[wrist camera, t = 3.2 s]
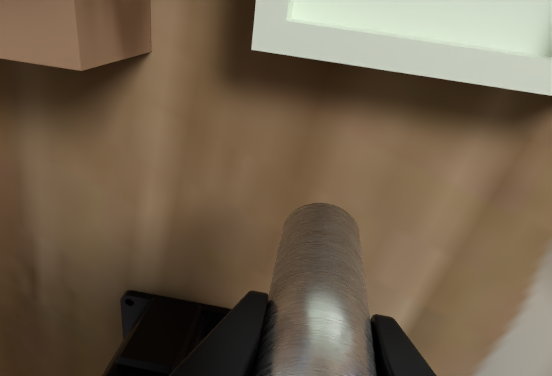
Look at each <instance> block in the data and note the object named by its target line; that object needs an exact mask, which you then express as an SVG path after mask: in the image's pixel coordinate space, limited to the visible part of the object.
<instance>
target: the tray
mask: <svg viewBox="0 0 552 376" xmlns="http://www.w3.org/2000/svg"><path fill="white" fill-rule="evenodd" d="M251 50H256V51H263V52H269V53H276V54H282V55H289V56H295V57H302V58H308V59H315V60H321V61H328V62H334V63H341V64H348V65H354V66H361V67H367V68H374V69H380V70H387V71H393V72H400V73H406V74H413V75H419V76H426V77H432V78H439V79H446V80H452V81H459V82H465V83H472V84H478V85H485V86H491V87H498V88H504V89H511V90H517V91H524V92H530V93H537V94H544V95H550V96H552V0H256V5H255V16H254V26H253V37H252V48H251Z"/></svg>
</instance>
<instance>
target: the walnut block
mask: <svg viewBox="0 0 552 376" xmlns="http://www.w3.org/2000/svg"><path fill="white" fill-rule="evenodd" d="M149 52H152V50H151V7H150V0H0V58H1V59H8V60H14V61H20V62H27V63H33V64H40V65H46V66H53V67H59V68H66V69H72V70H79V71H83V70H87V69H90V68H94V67H98V66H101V65H105V64H108V63H112V62H116V61H119V60H123V59H127V58H130V57H134V56H138V55H141V54H145V53H149Z"/></svg>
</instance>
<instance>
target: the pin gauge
mask: <svg viewBox="0 0 552 376" xmlns="http://www.w3.org/2000/svg"><path fill="white" fill-rule="evenodd" d="M252 376H377V369H376V361H375V353H374V345H373V337H372V329H371V321H370V313H369V305H368V297H367V289H366V281H365V273H364V265H363V257H362V249H361V241H360V233H359V229H358V226H357V224H356V222H355V220H354V219H353V218H352V216H351V215H350V214H349V213H347V212H346V211H345V210H343V209H341V208H340V207H337V206H335V205H331V204H327V203H312V204H308V205H305V206H302V207H300V208H298V209H297V210H295V211H294V212H293V213H291V214H290V215H289V217H288V218H287V219H286V221H285V223H284V225H283V229H282V234H281V239H280V243H279V248H278V253H277V258H276V263H275V267H274V272H273V277H272V282H271V287H270V291H269V298H268V304H267V309H266V314H265V319H264V324H263V329H262V333H261V338H260V343H259V348H258V352H257V357H256V361H255V364H254V369H253V373H252Z"/></svg>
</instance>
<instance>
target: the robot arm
mask: <svg viewBox="0 0 552 376" xmlns="http://www.w3.org/2000/svg"><path fill="white" fill-rule="evenodd" d="M268 298H269V296H268V294H267V293H263V292H258V291H249V292H248V293H247V294H246V295H245V296H244V297H243V298H242V299H241V300H240V302H239V303H238V304H237V305H236V306H235V307H234V308H233V309H232V310H231V309H226V308H221V307H216V306H211V305H206V304H200V303H195V302H190V301H185V300H179V299H174V298H169V297H164V296H158V295H153V294H148V293H143V292H138V291H132V290H129V291H126V292H125V294H124V295H123V296H122V298H121V311H122V324H123V337H124V340H123V342H122V343H121V345H120V347H119V348H118V350H117V352H116V353H115V355H114V357H113V358H112V360H111V362H110V363H109V365H108V366H107V368H106V370H105V371H104V373H103V375H102V376H252V373H253V369H254V364H255V361H256V357H257V352H258V348H259V343H260V338H261V333H262V329H263V324H264V319H265V314H266V309H267V304H268ZM130 299H131V300H130ZM370 321H371V329H372V337H373V345H374V353H375V361H376V369H377V376H436V374H435V373H434V372H433V370H432V369H431V368H430V366H429V365H428V364H427V362H426V361H425V360H424V358H423V357H422V356H421V354H420V353H419V352H418V350H417V349H416V347H415V346H414V345H413V343H412V342H411V341H410V339H409V338H408V337H407V335H406V334H405V333H404V331H403V330H402V329H401V327H400V326H399V325H398V323H397V322H396V321H395V319H393V318H392V317H389V316H383V315H378V314H375V315H373V316H372V318H371V320H370Z"/></svg>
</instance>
